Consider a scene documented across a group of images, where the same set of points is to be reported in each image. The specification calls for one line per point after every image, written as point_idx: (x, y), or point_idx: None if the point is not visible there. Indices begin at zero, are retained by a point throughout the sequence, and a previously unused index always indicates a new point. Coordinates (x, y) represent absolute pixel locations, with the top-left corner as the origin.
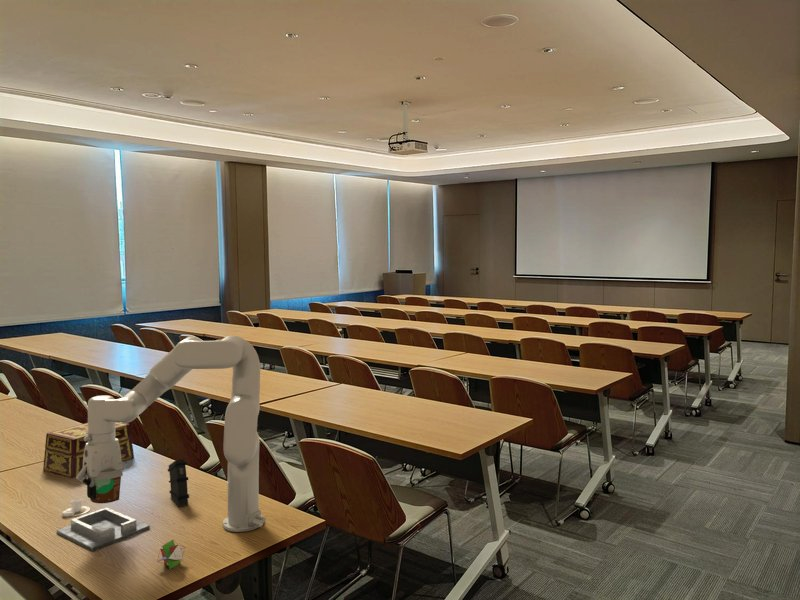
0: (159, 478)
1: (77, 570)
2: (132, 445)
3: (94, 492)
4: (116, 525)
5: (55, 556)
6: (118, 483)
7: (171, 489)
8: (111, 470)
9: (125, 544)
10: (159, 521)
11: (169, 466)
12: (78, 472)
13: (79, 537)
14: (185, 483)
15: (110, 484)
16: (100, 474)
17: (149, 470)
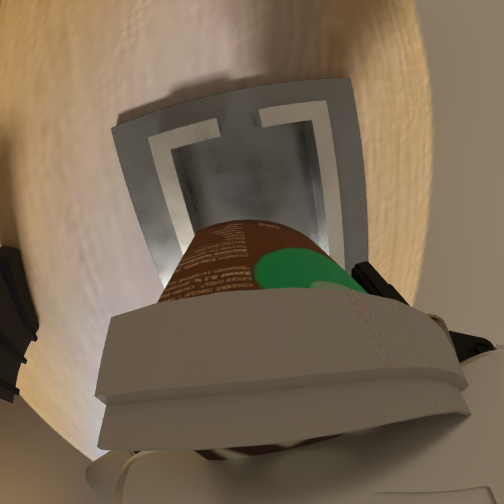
0: (75, 413)
1: (403, 17)
2: None
3: (383, 285)
4: (213, 211)
5: (423, 141)
6: (193, 276)
7: (26, 335)
8: (277, 465)
9: (236, 48)
10: (74, 173)
11: (7, 396)
12: None
13: (351, 197)
14: None
15: (296, 273)
16: (460, 384)
17: (97, 440)
